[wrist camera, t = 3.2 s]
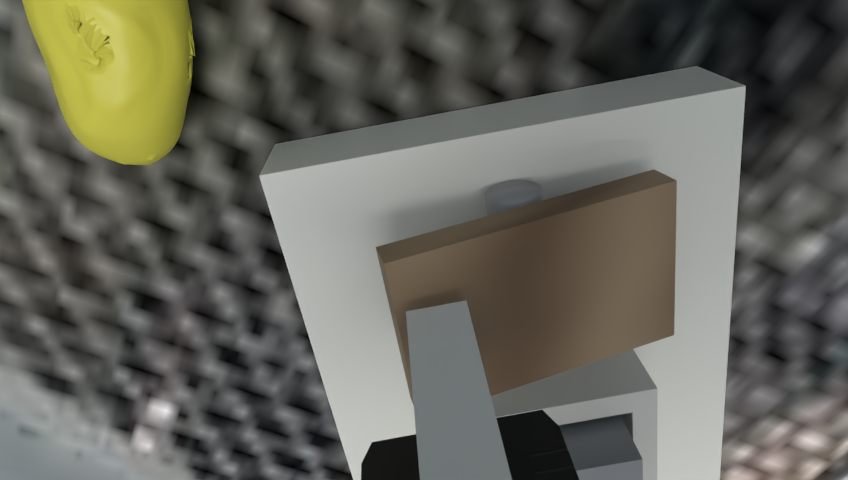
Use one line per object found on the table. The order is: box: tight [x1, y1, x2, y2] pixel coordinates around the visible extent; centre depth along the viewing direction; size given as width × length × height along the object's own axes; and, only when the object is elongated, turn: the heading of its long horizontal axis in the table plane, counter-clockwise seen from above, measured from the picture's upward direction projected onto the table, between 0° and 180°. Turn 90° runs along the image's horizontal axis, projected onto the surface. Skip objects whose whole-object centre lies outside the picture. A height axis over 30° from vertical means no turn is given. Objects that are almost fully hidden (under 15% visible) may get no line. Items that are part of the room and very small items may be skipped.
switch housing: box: [259, 66, 746, 480], centre depth 23 cm, size 14×24×5 cm, turn 10°
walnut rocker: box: [376, 169, 677, 405], centre depth 17 cm, size 8×5×1 cm, turn 100°
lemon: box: [22, 0, 195, 165], centre depth 17 cm, size 4×8×4 cm, turn 177°
